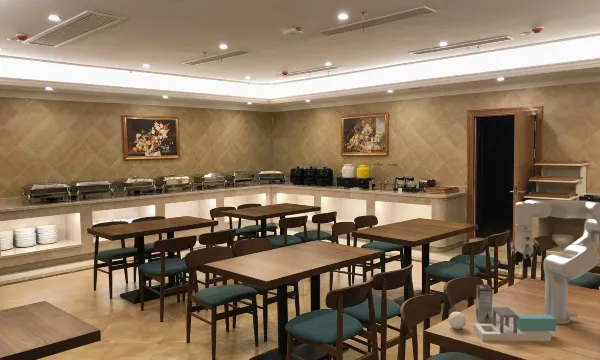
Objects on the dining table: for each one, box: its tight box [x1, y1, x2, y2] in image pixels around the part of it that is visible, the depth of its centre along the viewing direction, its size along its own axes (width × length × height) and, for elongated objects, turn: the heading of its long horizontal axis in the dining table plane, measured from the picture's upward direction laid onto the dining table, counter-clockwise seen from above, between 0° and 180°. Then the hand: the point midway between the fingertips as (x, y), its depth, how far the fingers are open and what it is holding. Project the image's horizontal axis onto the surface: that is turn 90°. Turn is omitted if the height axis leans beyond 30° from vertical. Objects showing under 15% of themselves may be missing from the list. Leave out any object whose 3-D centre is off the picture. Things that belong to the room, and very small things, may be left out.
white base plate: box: [473, 323, 552, 342], centre depth 214 cm, size 29×12×3 cm, turn 87°
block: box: [517, 314, 557, 332], centre depth 213 cm, size 15×5×6 cm, turn 87°
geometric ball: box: [447, 311, 467, 330], centre depth 223 cm, size 8×8×8 cm
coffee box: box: [475, 284, 493, 324], centre depth 234 cm, size 9×6×16 cm
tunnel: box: [491, 306, 518, 333], centre depth 214 cm, size 7×10×8 cm
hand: (522, 264), depth 227 cm, fingers open, 9 cm apart
